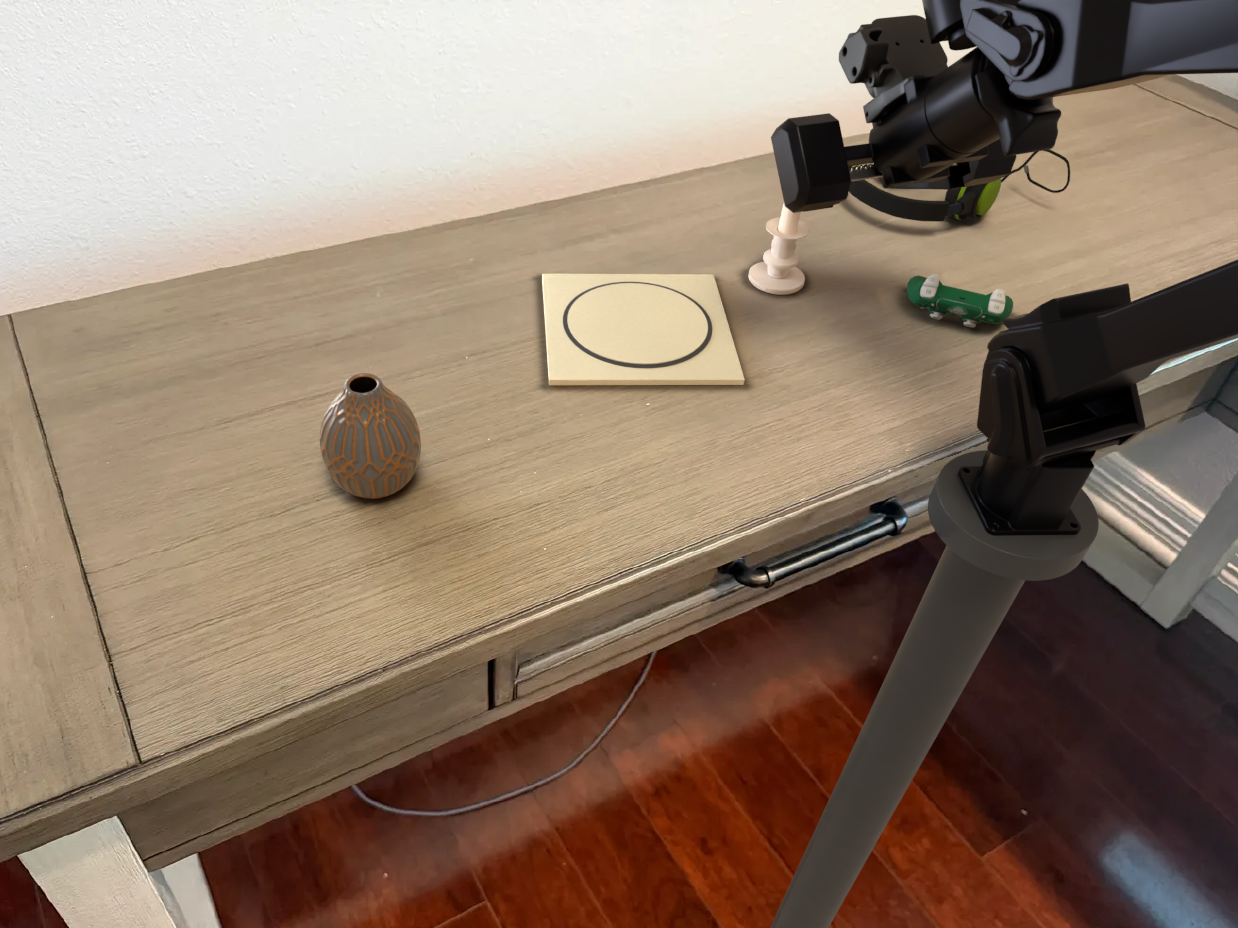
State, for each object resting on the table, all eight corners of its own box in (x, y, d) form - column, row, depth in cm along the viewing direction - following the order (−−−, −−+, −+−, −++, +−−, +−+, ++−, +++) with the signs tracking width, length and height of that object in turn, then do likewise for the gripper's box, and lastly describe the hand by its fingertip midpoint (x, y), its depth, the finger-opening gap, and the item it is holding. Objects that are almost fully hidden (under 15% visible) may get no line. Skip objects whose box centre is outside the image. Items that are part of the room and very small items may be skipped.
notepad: (743, 385, 80) (745, 377, 80) (549, 385, 79) (549, 377, 79) (712, 279, 92) (714, 272, 91) (541, 279, 91) (542, 271, 90)
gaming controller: (897, 316, 91) (903, 301, 86) (909, 277, 91) (916, 259, 85) (999, 341, 89) (1012, 327, 83) (1012, 301, 89) (1026, 284, 83)
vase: (310, 471, 71) (291, 375, 65) (392, 436, 74) (382, 340, 68) (356, 527, 67) (341, 430, 61) (442, 487, 70) (435, 391, 64)
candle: (812, 292, 91) (839, 187, 83) (759, 297, 90) (781, 191, 82) (791, 263, 94) (815, 159, 87) (740, 267, 93) (760, 163, 86)
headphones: (1095, 125, 96) (953, 167, 88) (1056, 215, 103) (921, 262, 95) (970, 68, 105) (832, 102, 98) (942, 154, 112) (811, 192, 104)
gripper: (1051, -21, 67) (912, 79, 82) (814, 1, 62) (712, 103, 77) (1082, 140, 68) (938, 211, 83) (849, 174, 63) (741, 242, 78)
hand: (835, 189), depth 80 cm, fingers open, 9 cm apart
